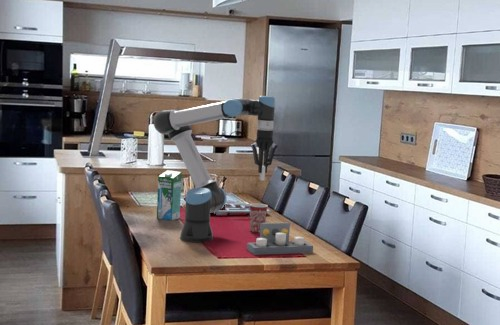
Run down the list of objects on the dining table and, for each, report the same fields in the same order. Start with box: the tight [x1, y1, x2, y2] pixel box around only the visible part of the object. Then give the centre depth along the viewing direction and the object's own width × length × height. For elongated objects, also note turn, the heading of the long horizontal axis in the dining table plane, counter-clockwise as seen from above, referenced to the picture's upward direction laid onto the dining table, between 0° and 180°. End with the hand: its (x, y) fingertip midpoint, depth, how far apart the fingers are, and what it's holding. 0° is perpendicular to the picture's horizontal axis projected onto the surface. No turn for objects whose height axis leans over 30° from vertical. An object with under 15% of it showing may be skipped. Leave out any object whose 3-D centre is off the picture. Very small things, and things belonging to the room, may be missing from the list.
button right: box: [293, 236, 305, 246], centre depth 299 cm, size 5×5×5 cm
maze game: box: [214, 203, 271, 216], centre depth 381 cm, size 35×20×3 cm, turn 106°
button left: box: [255, 237, 267, 247], centre depth 292 cm, size 5×5×5 cm
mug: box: [249, 203, 269, 233], centre depth 337 cm, size 13×9×14 cm
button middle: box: [275, 232, 286, 246], centre depth 295 cm, size 5×5×5 cm
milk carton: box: [156, 169, 183, 222], centre depth 352 cm, size 9×9×25 cm
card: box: [259, 222, 291, 242], centre depth 302 cm, size 14×1×12 cm, turn 110°
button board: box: [246, 240, 314, 256], centre depth 296 cm, size 28×9×4 cm, turn 110°
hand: (262, 179), depth 312 cm, fingers closed
